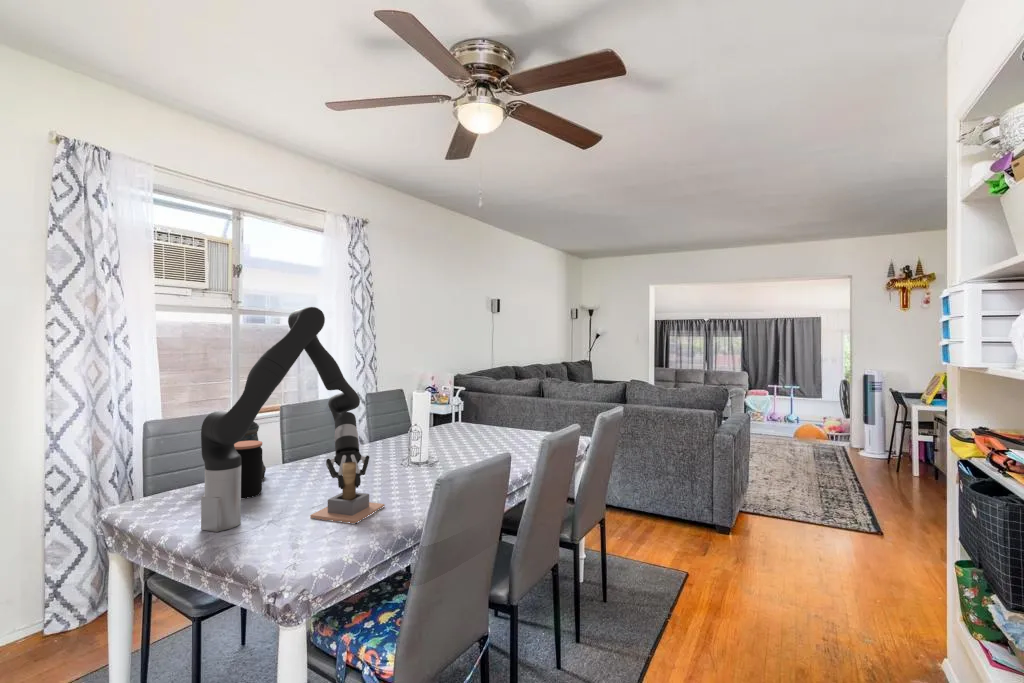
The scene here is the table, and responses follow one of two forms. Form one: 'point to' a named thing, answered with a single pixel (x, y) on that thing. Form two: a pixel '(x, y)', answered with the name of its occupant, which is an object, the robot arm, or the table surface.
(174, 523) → the table surface
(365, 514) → the holder
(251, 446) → the coffee jar
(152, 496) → the table surface
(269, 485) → the table surface
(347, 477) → the tan dome-topped cylinder
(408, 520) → the table surface
